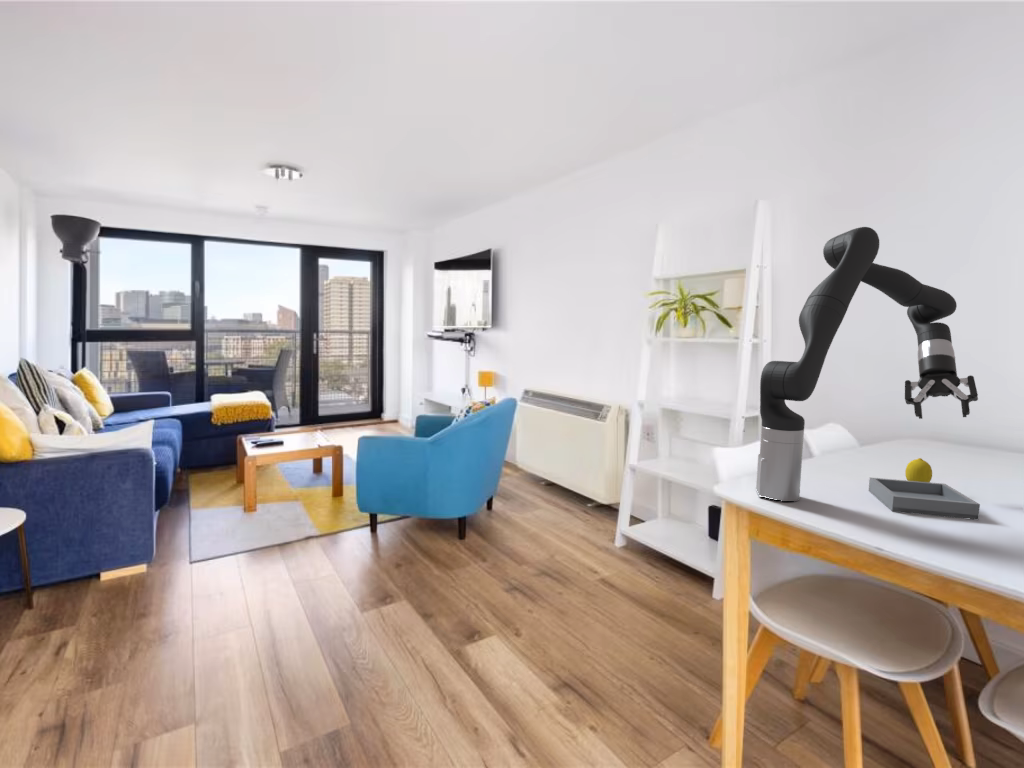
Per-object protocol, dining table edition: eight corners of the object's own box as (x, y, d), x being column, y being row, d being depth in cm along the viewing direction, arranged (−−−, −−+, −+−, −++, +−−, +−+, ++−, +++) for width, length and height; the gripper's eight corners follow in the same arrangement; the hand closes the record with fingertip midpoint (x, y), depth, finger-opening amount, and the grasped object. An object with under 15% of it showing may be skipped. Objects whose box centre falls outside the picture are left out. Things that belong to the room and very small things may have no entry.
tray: (892, 511, 119) (893, 496, 119) (868, 490, 134) (869, 477, 134) (978, 519, 114) (979, 504, 114) (943, 497, 129) (945, 483, 129)
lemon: (935, 492, 134) (938, 461, 133) (910, 490, 135) (913, 460, 134) (923, 485, 139) (926, 456, 138) (899, 484, 140) (902, 455, 139)
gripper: (900, 356, 139) (904, 412, 133) (971, 349, 130) (980, 408, 123) (904, 370, 144) (908, 424, 137) (972, 364, 135) (980, 421, 128)
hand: (942, 416), depth 130 cm, fingers open, 8 cm apart
